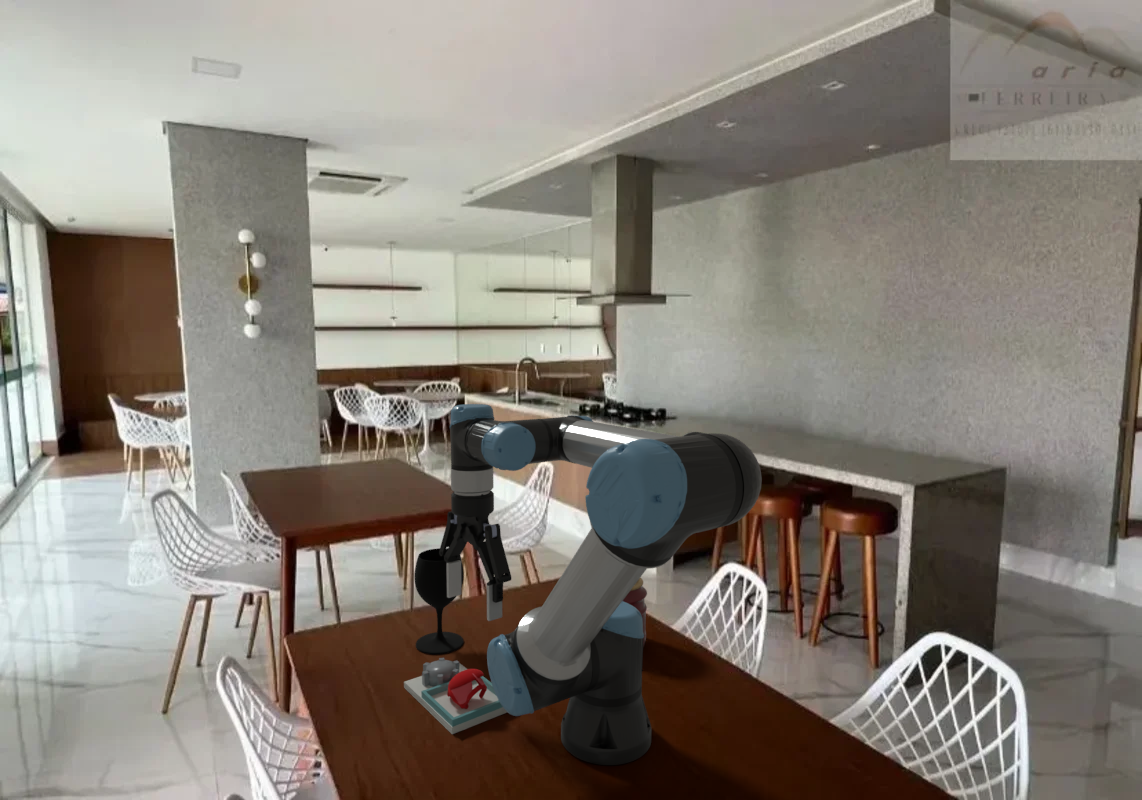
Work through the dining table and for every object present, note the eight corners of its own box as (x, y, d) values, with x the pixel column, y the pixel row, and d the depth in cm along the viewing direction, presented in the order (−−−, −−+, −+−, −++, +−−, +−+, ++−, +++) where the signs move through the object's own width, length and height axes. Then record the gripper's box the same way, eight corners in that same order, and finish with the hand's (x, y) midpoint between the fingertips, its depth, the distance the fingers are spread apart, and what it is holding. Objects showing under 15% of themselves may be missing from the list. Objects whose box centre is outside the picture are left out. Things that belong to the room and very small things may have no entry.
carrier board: (511, 710, 121) (511, 690, 121) (452, 734, 114) (452, 713, 113) (459, 668, 136) (459, 651, 135) (404, 687, 128) (403, 669, 128)
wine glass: (406, 642, 147) (405, 553, 145) (447, 629, 154) (446, 544, 152) (431, 659, 139) (430, 566, 138) (473, 644, 146) (472, 555, 145)
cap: (498, 681, 122) (478, 656, 125) (482, 685, 117) (461, 659, 120) (472, 714, 123) (452, 688, 126) (453, 719, 118) (434, 693, 120)
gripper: (531, 500, 113) (531, 623, 115) (454, 477, 132) (456, 582, 134) (494, 507, 108) (495, 635, 110) (420, 482, 127) (421, 591, 129)
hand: (473, 606), depth 122 cm, fingers open, 13 cm apart
